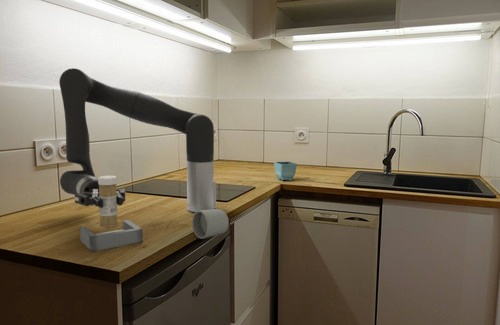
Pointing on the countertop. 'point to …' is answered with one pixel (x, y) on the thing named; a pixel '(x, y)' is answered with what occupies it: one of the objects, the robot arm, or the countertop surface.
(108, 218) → the sprinkles bottle
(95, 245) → the bay
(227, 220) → the ceramic mug
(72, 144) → the robot arm
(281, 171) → the flower pot
